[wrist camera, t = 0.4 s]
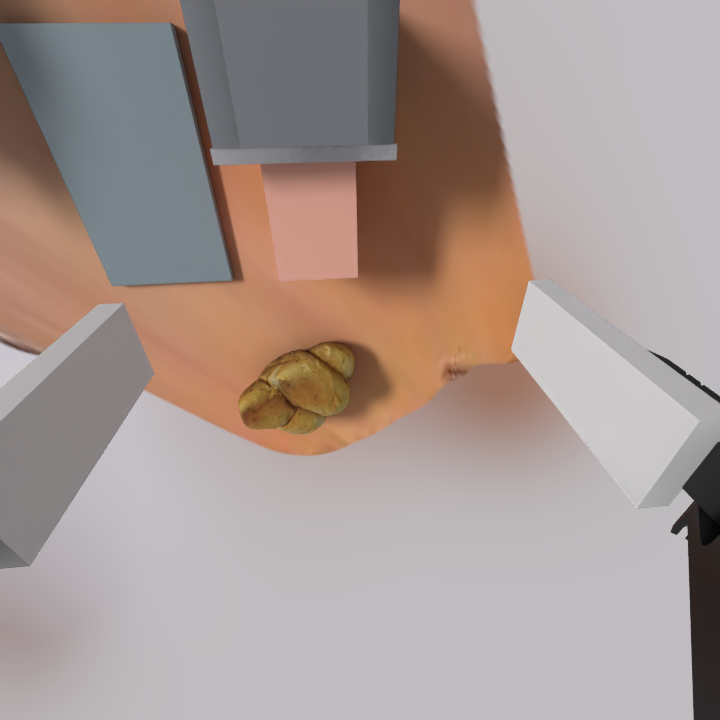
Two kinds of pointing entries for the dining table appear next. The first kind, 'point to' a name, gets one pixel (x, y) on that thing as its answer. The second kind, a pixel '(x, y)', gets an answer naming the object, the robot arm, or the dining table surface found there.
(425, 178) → the dining table surface
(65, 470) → the robot arm
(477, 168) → the dining table surface
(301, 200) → the salmon pink rectangular block
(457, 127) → the dining table surface
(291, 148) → the box
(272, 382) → the bread roll
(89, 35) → the mat
